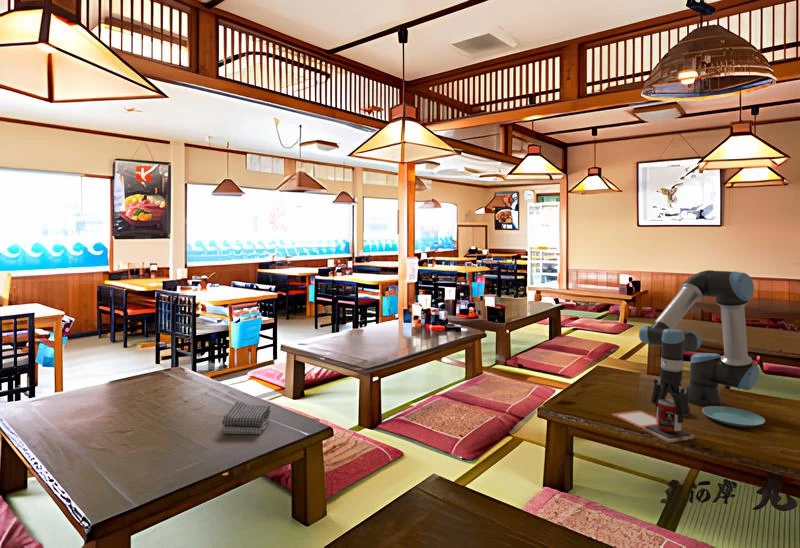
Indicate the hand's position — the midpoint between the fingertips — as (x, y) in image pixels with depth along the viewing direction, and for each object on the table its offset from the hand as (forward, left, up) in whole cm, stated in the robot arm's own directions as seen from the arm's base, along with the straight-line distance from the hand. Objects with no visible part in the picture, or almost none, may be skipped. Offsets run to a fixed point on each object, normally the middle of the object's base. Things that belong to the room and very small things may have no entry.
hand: (668, 426), depth 191 cm
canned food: (0, 0, -1) cm, 1 cm away
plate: (-40, -3, -4) cm, 40 cm away
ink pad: (0, 0, -3) cm, 3 cm away
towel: (+156, -54, -4) cm, 165 cm away
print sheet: (-2, -15, -3) cm, 16 cm away
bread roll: (-24, -18, -3) cm, 30 cm away
